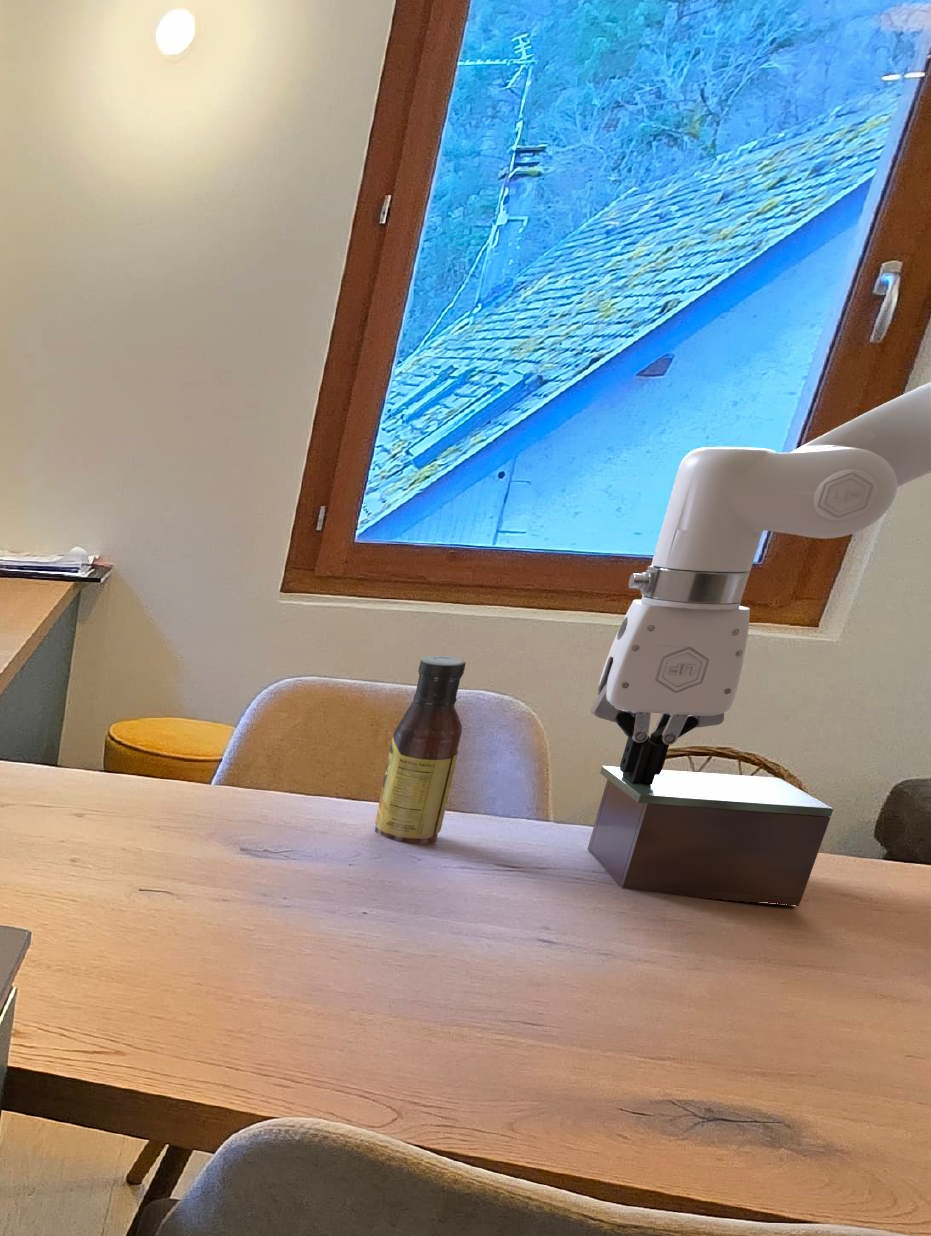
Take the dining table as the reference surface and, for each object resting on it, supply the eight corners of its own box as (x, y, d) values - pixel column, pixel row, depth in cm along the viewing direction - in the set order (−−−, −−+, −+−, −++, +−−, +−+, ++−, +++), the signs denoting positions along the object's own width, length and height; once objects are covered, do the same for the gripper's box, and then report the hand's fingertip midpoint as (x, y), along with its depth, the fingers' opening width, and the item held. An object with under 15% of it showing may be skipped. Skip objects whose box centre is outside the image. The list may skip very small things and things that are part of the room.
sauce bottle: (397, 829, 149) (439, 649, 140) (449, 847, 144) (496, 660, 135) (356, 839, 146) (396, 656, 138) (407, 857, 141) (453, 668, 133)
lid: (638, 802, 128) (640, 794, 128) (599, 773, 139) (601, 765, 138) (831, 817, 124) (834, 808, 124) (776, 785, 134) (779, 777, 134)
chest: (621, 890, 132) (647, 803, 128) (585, 855, 142) (608, 774, 138) (798, 907, 128) (830, 817, 124) (748, 869, 138) (776, 786, 134)
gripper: (614, 590, 124) (561, 783, 132) (807, 597, 120) (741, 797, 127) (589, 580, 131) (540, 765, 138) (771, 587, 127) (710, 777, 134)
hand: (636, 780), depth 133 cm, fingers closed
